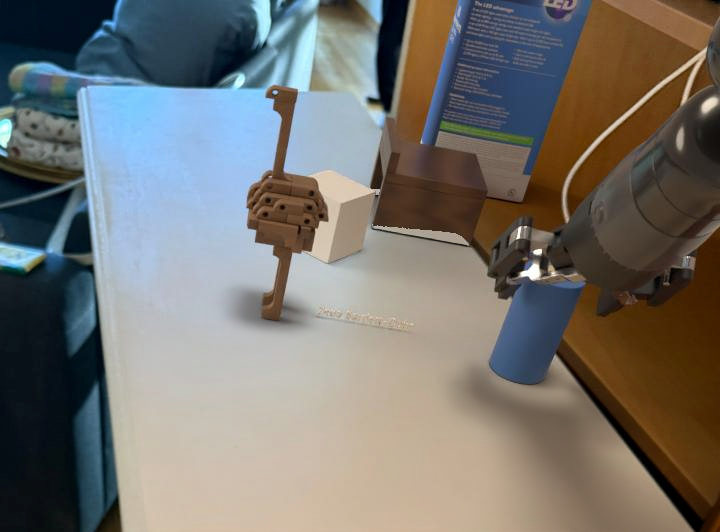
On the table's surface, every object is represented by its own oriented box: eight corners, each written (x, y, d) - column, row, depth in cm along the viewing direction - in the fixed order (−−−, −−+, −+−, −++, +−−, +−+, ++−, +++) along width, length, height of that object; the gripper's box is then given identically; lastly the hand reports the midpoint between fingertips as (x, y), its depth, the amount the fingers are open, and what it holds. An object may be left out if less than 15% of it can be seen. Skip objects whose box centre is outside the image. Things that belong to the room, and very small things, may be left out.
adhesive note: (316, 228, 99) (329, 169, 95) (361, 250, 97) (376, 191, 93) (281, 240, 96) (293, 179, 91) (327, 264, 93) (341, 203, 89)
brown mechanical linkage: (229, 321, 82) (263, 97, 69) (232, 287, 87) (265, 71, 74) (415, 351, 84) (482, 137, 71) (408, 316, 88) (470, 109, 75)
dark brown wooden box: (459, 207, 110) (482, 134, 104) (469, 247, 102) (494, 170, 96) (368, 190, 109) (386, 116, 103) (371, 229, 101) (391, 151, 96)
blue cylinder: (539, 359, 86) (580, 263, 80) (549, 388, 83) (592, 291, 76) (485, 349, 86) (521, 253, 79) (492, 378, 82) (531, 280, 76)
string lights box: (513, 182, 119) (600, -66, 100) (522, 205, 113) (616, -52, 95) (412, 163, 118) (481, -91, 99) (416, 185, 112) (489, -78, 94)
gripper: (758, 176, 62) (639, 266, 79) (554, 137, 62) (476, 237, 78) (741, 287, 63) (626, 355, 79) (537, 250, 62) (462, 326, 78)
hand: (551, 296), depth 78 cm, fingers open, 8 cm apart
